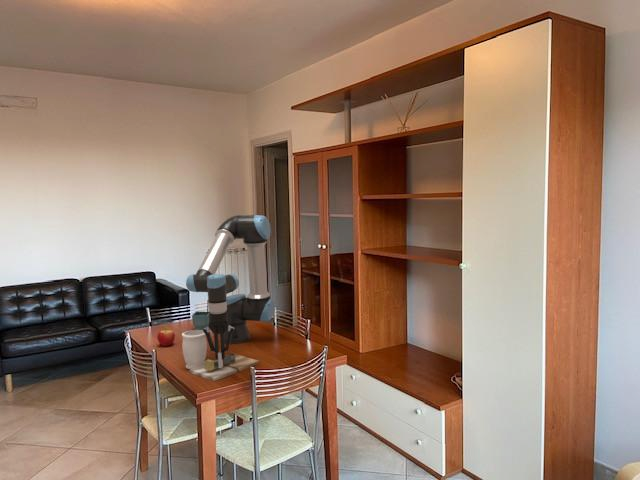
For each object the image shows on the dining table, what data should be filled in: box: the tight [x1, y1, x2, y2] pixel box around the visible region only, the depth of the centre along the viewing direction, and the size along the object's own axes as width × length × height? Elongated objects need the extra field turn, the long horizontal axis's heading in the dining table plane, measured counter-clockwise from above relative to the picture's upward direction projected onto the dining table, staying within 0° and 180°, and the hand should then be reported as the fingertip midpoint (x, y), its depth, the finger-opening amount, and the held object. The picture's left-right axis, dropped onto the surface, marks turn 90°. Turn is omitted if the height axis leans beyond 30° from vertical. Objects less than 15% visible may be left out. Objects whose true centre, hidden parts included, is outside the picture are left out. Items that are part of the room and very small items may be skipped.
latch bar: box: [204, 353, 236, 371], centre depth 205 cm, size 16×4×4 cm, turn 145°
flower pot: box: [191, 311, 210, 330], centre depth 270 cm, size 9×9×9 cm
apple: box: [156, 326, 176, 347], centre depth 240 cm, size 8×8×10 cm
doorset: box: [189, 353, 260, 382], centre depth 207 cm, size 16×25×6 cm, turn 142°
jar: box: [181, 329, 208, 370], centre depth 210 cm, size 11×10×15 cm
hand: (220, 366), depth 202 cm, fingers closed
